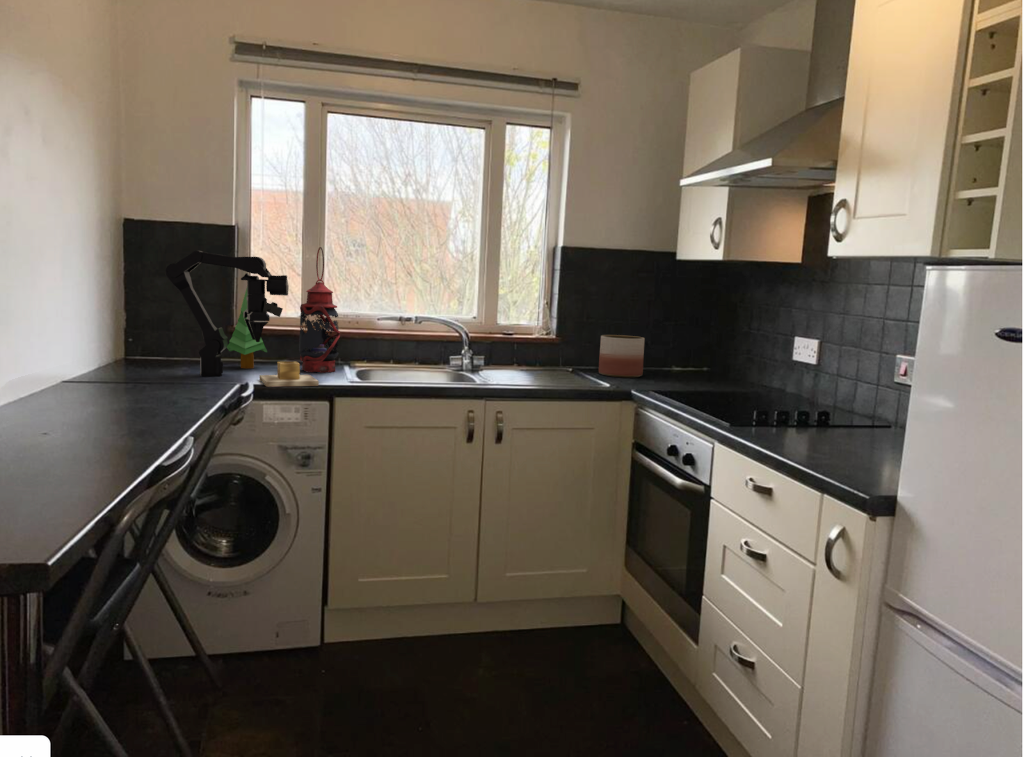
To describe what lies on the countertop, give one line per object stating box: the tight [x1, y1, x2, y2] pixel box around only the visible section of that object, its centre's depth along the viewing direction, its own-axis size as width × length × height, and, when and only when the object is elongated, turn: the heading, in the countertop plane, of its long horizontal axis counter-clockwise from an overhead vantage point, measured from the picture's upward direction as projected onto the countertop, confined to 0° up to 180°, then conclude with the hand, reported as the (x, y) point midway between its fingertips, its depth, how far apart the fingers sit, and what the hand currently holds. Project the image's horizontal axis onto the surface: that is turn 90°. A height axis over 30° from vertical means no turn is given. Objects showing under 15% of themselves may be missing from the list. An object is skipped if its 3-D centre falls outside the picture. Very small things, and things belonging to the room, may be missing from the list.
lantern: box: [298, 246, 341, 374], centre depth 280 cm, size 16×15×45 cm
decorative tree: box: [226, 288, 268, 369], centre depth 280 cm, size 14×16×30 cm
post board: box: [258, 374, 320, 388], centre depth 249 cm, size 16×16×6 cm
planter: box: [598, 334, 645, 379], centre depth 311 cm, size 18×18×16 cm
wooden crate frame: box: [277, 361, 301, 379], centre depth 249 cm, size 6×6×5 cm
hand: (256, 340), depth 259 cm, fingers open, 9 cm apart
